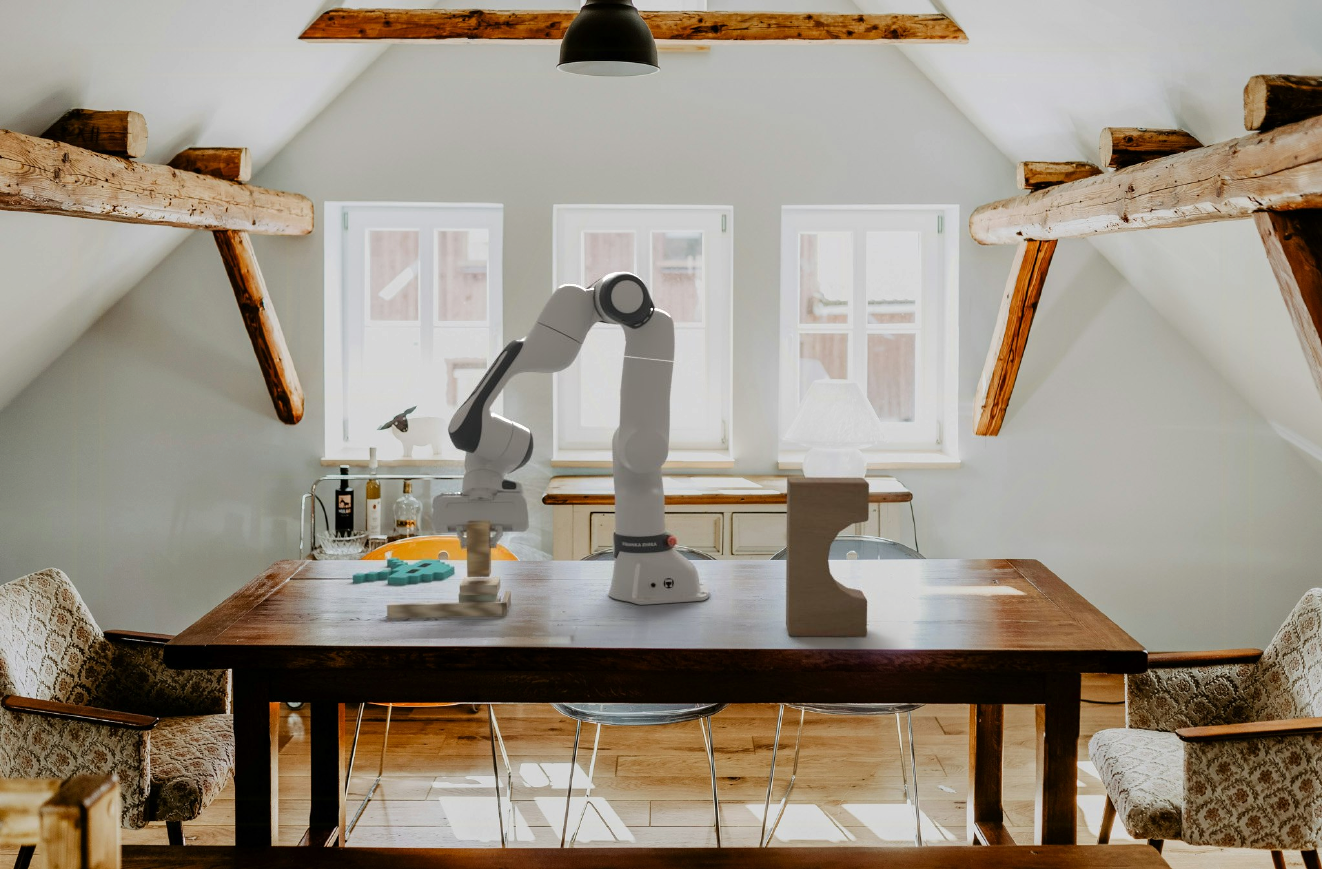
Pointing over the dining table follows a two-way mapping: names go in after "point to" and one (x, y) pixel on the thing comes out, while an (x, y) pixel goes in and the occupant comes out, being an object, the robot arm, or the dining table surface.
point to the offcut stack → (479, 590)
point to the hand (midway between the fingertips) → (478, 546)
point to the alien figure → (408, 572)
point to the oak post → (478, 549)
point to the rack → (450, 609)
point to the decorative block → (822, 556)
